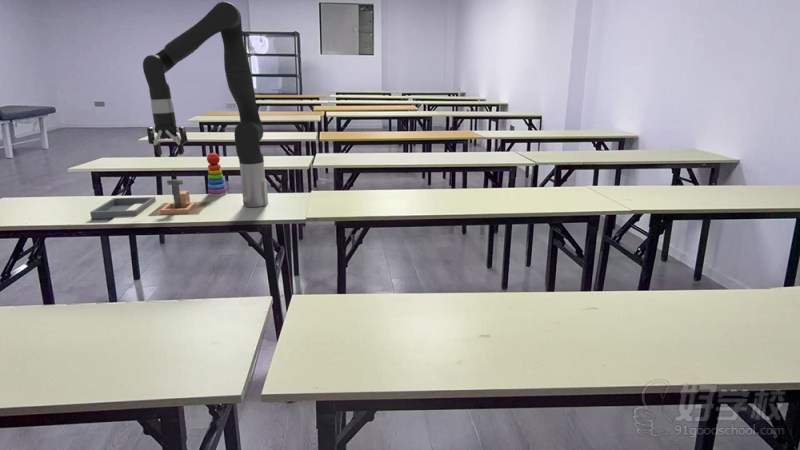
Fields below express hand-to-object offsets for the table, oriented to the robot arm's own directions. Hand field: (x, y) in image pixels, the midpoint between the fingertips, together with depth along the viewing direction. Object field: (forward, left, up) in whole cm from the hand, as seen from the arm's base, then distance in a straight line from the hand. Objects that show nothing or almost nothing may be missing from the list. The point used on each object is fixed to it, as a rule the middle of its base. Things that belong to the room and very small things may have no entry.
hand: (170, 154), depth 197 cm
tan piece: (-3, +5, -20) cm, 21 cm away
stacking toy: (-12, -16, -21) cm, 29 cm away
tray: (+18, +4, -21) cm, 28 cm away
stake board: (-3, +6, -21) cm, 22 cm away
